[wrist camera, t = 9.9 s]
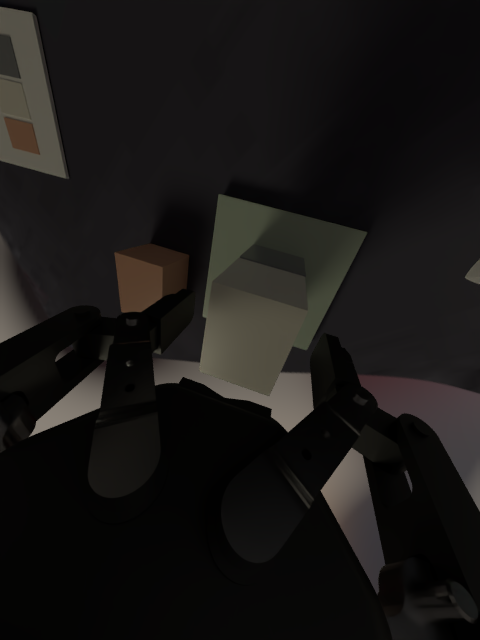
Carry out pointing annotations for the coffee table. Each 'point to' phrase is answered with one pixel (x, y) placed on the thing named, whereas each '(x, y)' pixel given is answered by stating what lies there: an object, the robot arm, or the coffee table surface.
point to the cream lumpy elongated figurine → (474, 273)
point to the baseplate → (284, 251)
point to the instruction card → (27, 98)
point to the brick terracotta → (149, 275)
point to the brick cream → (252, 324)
